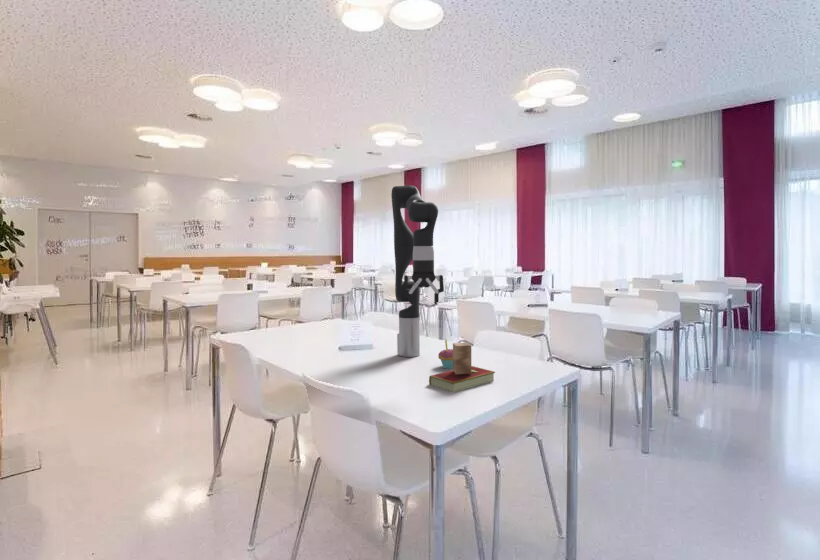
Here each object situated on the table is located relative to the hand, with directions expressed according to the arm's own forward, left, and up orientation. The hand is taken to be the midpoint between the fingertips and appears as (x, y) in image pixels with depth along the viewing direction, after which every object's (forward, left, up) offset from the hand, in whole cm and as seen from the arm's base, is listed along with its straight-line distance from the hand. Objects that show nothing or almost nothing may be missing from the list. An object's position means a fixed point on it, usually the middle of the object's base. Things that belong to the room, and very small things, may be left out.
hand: (423, 304), depth 163 cm
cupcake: (-3, +21, -28) cm, 35 cm away
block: (+13, +6, -24) cm, 28 cm away
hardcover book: (+13, +5, -29) cm, 32 cm away
